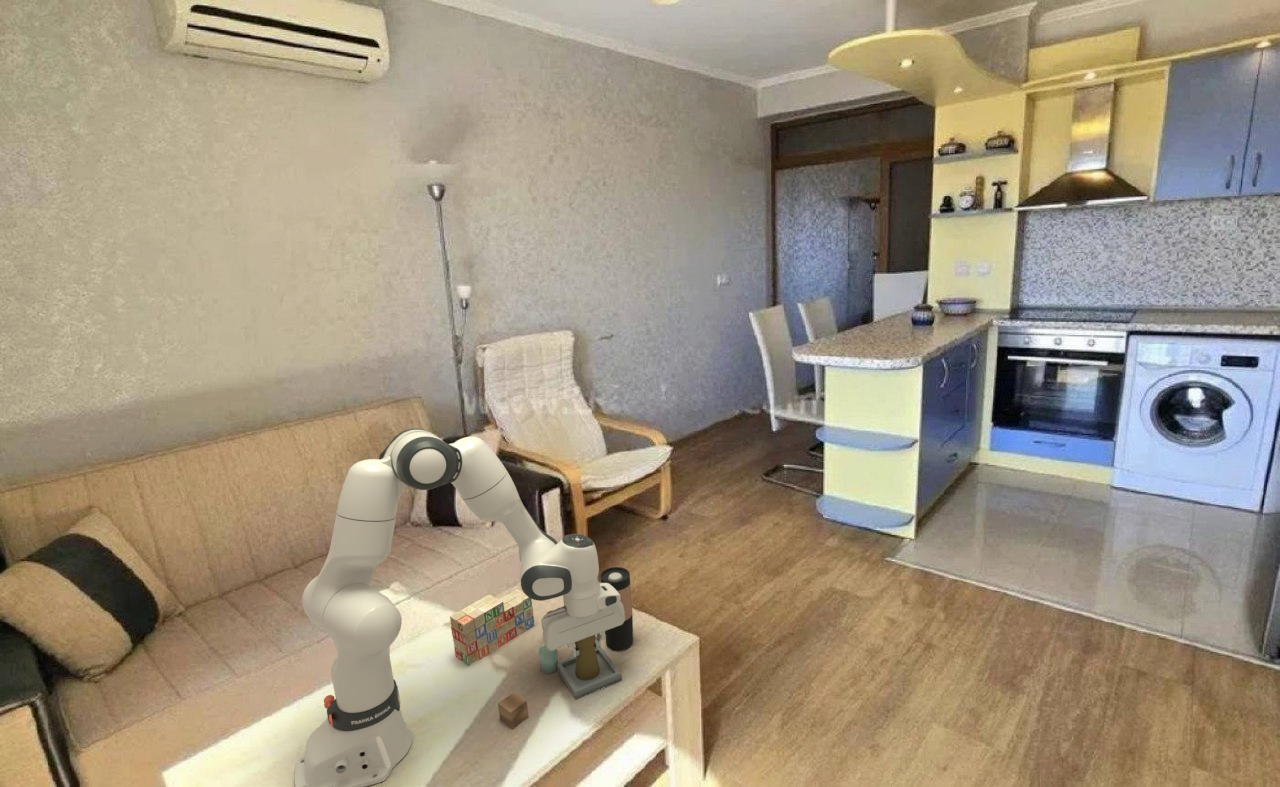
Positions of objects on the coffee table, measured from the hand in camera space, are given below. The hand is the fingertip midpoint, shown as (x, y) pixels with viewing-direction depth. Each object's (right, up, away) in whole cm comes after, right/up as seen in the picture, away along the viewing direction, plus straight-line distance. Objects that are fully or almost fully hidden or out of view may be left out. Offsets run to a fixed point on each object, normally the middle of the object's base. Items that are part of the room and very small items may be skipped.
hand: (586, 650), depth 149 cm
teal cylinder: (-10, -6, +5) cm, 13 cm away
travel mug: (+8, -3, +13) cm, 15 cm away
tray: (0, -7, +1) cm, 7 cm away
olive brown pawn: (0, -6, +2) cm, 6 cm away
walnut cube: (-15, -11, -11) cm, 22 cm away
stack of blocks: (-26, -4, +17) cm, 31 cm away
